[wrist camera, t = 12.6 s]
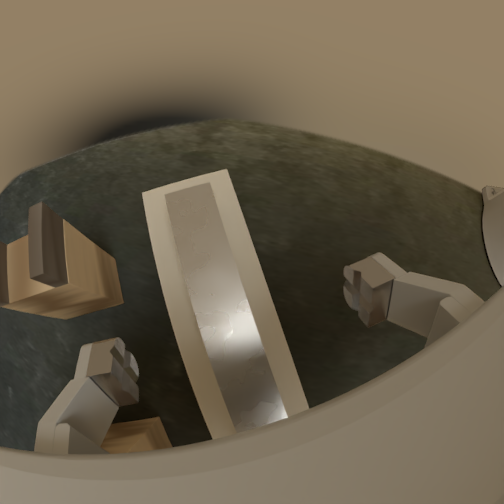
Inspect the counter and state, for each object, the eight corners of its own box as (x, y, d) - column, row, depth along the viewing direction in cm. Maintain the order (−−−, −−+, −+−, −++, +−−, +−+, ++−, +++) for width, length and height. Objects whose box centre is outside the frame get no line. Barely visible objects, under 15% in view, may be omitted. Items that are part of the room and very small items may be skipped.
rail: (212, 203, 23) (209, 181, 20) (295, 449, 18) (306, 467, 14) (172, 214, 23) (164, 194, 19) (254, 463, 17) (258, 483, 14)
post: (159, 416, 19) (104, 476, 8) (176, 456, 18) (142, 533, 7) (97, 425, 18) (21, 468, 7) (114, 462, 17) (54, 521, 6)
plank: (226, 174, 25) (226, 168, 24) (324, 460, 18) (328, 465, 17) (144, 197, 24) (142, 192, 23) (238, 489, 17) (239, 494, 16)
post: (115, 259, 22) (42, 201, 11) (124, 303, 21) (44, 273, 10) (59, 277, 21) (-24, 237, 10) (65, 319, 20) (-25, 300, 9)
